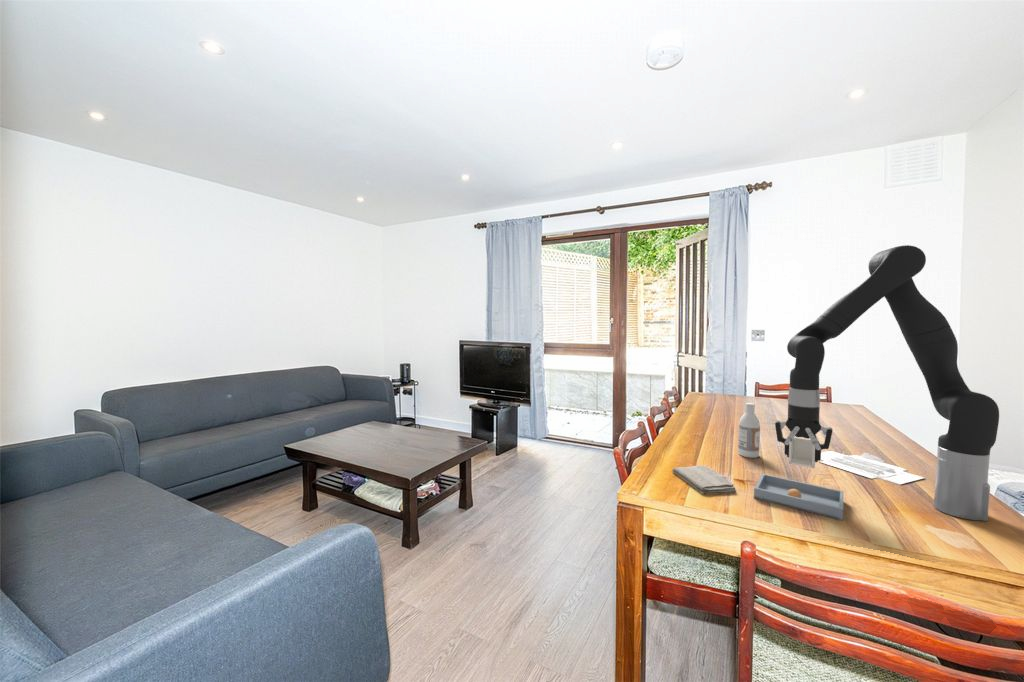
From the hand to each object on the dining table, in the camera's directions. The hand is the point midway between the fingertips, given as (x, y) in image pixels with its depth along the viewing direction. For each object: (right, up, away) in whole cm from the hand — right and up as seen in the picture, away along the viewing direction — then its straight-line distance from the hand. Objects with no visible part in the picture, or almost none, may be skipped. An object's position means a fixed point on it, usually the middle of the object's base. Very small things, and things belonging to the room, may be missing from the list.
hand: (802, 458), depth 118 cm
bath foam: (+4, -9, +34) cm, 35 cm away
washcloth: (-25, -11, +10) cm, 29 cm away
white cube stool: (0, -1, 0) cm, 1 cm away
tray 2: (+37, -10, +22) cm, 45 cm away
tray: (-3, -11, -3) cm, 12 cm away
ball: (-6, -9, -5) cm, 11 cm away
